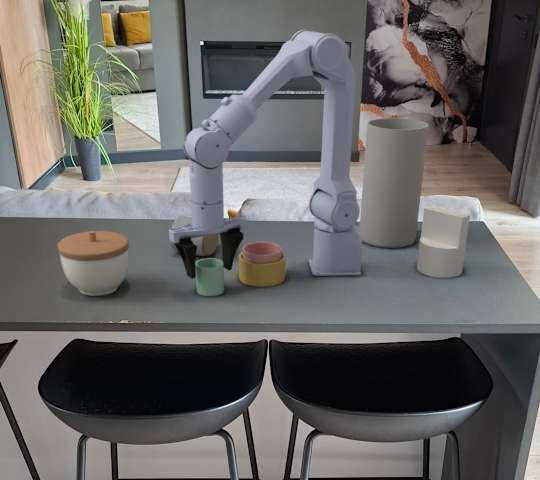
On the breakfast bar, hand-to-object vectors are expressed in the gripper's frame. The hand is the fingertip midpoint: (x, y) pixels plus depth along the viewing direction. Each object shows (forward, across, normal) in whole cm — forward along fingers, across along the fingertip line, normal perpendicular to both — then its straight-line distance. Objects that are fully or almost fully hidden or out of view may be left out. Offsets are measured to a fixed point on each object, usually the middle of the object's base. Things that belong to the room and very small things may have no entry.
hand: (209, 272), depth 131 cm
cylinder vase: (+4, -47, -4) cm, 48 cm away
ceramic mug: (+4, -8, -20) cm, 22 cm away
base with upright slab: (+4, -44, +15) cm, 47 cm away
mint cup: (+4, 0, 0) cm, 4 cm away
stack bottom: (+4, -12, 0) cm, 12 cm away
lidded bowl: (+4, +17, -12) cm, 21 cm away
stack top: (+4, -12, 0) cm, 12 cm away
